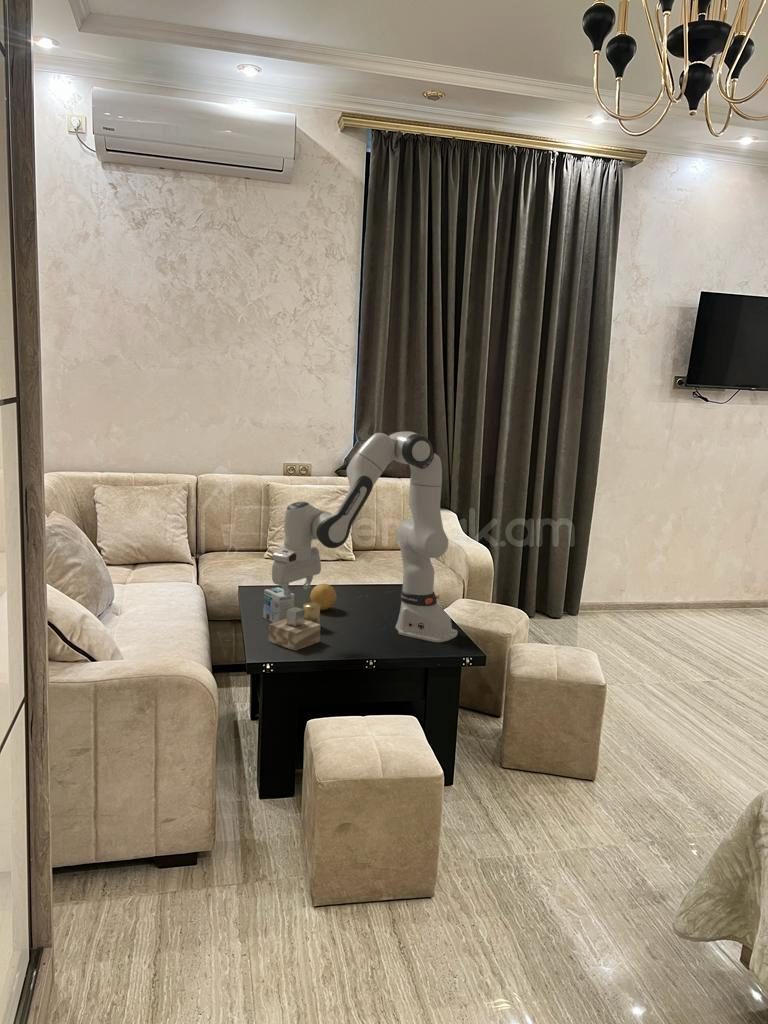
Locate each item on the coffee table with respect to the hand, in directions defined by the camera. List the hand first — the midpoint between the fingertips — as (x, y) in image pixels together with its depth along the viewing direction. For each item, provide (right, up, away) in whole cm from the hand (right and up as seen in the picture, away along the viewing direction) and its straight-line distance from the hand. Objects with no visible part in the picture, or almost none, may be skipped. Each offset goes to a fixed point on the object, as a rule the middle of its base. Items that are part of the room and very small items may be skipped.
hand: (297, 592), depth 251 cm
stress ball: (+5, -11, +39) cm, 40 cm away
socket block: (-1, -17, +3) cm, 17 cm away
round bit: (+3, -14, +18) cm, 23 cm away
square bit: (-1, -16, +3) cm, 16 cm away
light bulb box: (-9, -13, +23) cm, 28 cm away
